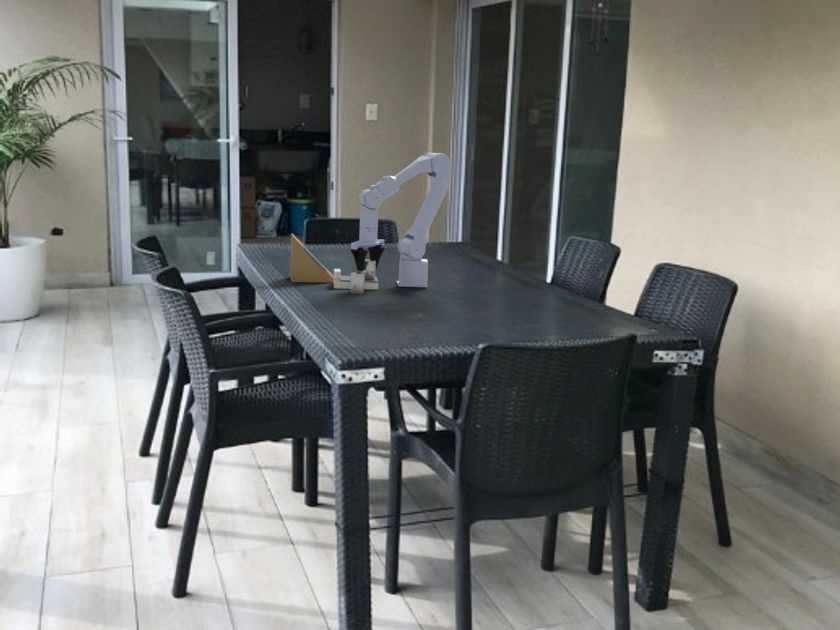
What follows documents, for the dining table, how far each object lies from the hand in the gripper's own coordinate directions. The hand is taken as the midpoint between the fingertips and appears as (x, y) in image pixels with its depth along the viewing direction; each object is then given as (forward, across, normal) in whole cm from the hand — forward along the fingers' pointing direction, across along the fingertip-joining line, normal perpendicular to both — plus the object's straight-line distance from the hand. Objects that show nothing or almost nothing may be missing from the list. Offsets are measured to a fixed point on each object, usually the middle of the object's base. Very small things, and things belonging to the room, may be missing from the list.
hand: (367, 269), depth 281 cm
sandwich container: (+6, -5, +18) cm, 20 cm away
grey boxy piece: (+6, -2, +3) cm, 7 cm away
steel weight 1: (+6, -10, -4) cm, 12 cm away
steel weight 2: (+3, 0, -1) cm, 3 cm away
